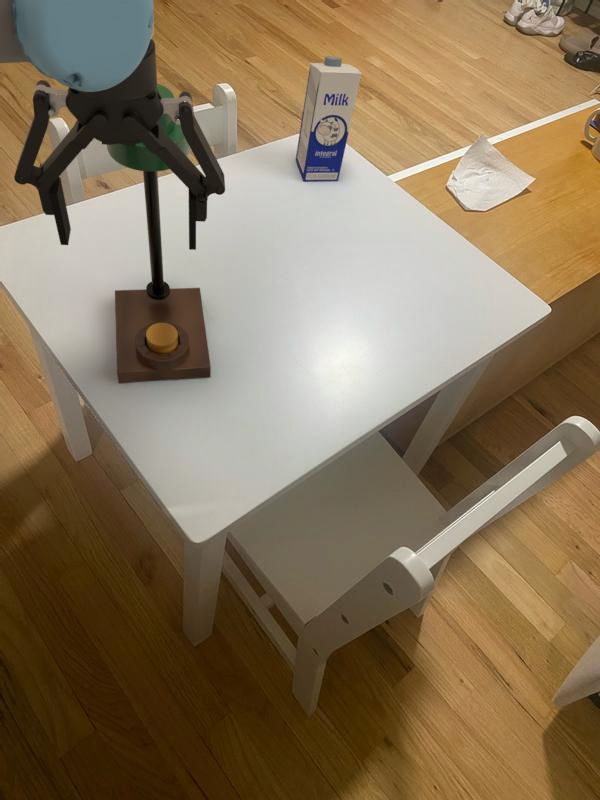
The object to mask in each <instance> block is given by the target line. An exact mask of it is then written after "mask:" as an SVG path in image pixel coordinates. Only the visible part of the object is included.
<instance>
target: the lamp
mask: <svg viewBox="0 0 600 800" xmlns="http://www.w3.org/2000/svg"><path fill="white" fill-rule="evenodd" d="M157 88H158V92H159V94H160V96H161V97H162V98H175V95H174V93H173V92H172V91H171V90H170V89H169V88H168V87H166V86H164V85H162V84H159V83H157ZM159 123H160V125H161V126H162V127H163V129H164V131H165V133H166V134H167V135H168V136H169V137H170V139H171V140H172V141H173V142H174V143H175V144H176V145H177V146H178V147H179V148H180V150H181V151H182V152H183V153H184V154H185V155H186V156H187V157H188V156H189V153H190V146H189V144H188V143H187V141H186V139H185V137H184V135H183V132H182V129H181V125H176V124H175V123H174V122H173V121H172V119H171V117H170V116H169V115H167V114H163V116H162V118H161V119H160V120H159ZM106 149H107V152H108V155H109V156H110V157H111V159H113V160H114V161H115V162H116V163H118V164H119V165H121V166H123V167H125V168H128V169H131V170H133V171H140V172H142V175H143V187H144V199H145V214H146V225H147V226H146V227H147V238H148V239H147V240H148V241H147V242H148V253H149V263H150V264H149V265H150V266H149V267H150V277H151V281H150V282H148V283H147V285H146V286H145V287H146V291H147V295H148V296H149V297H150V298H152V299H154V300H163V299H165V298H167V297H168V296H169V294H170V289H171V287H170V285H169V284H168V282H166V281H164V280H165V279H164V262H163V244H162V228H161V227H162V225H161V208H160V195H159V194H160V193H159V192H160V191H159V177H158V176H159V174H158V172H163V171H168V170H170V169H169V167H168V166H167V165H166V164H165V163H164V162H163V161H162V160H161V159H160V158H159V157H158V156H157V155H156V154H153V153H151V152H150V151H149V150H148V149H147V148H146V147H145V146H144V145H143V143H142V142H141V143H138V144H136V147H135V146H126V145H123V144H119V143H118V144H112V145H106Z"/></svg>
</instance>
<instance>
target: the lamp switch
mask: <svg viewBox="0 0 600 800" xmlns="http://www.w3.org/2000/svg"><path fill="white" fill-rule="evenodd" d="M146 339H147V346H148V348H149V349H150V350H151V351H152V352H154V353H156V354H168V353H171V352H173V351H174V350H175V349H176V348H177V345H178V333H177V330H176V329H175V327H173V326H172V325H170V324H167V323H157V324H154V325H152V326H150V327H149V328H148V330H147V332H146Z"/></svg>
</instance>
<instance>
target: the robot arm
mask: <svg viewBox="0 0 600 800" xmlns="http://www.w3.org/2000/svg"><path fill="white" fill-rule="evenodd" d="M154 7H155V6H154V0H0V64H14V63H15V64H16V63H29V64H31V65H32V66H33V67H35V69H36V70H37V71H38V72H39V73H40V74H41V75H42V76H45V77H47V78H49V79H53V80H54V81H56V82H58V83H59V84H60V85H62V86H65V87H67V88H68V89H67V90H65V89H60V88H54V87H52V86H51V84H50V83H49V82H48V81H47V80H44V79H40V80H38V81H37V82H36V85H35V89H34V92H33V96H32V105H33V118H32V120H31V123H30V127H29V129H28V133H27V135H26V137H25V141H24V144H23V147H22V150H21V152H20V156H19V159H18V161H17V166H16V169H15V171H14V176H13V179H14V181H15V182H16V183H17V184H18V185H22V186H23V185H26V184H29V185H31V186H33V187H35V189H37V193H38V195H39V200H40V205H41V208H42V212H43V213H44V215H46V216H53V217H54V221H55V226H56V229H57V234H58V238H59V243H60V246H69V242H70V236H71V231H72V228H71V223H70V218H69V213H68V209H67V204H66V198H65V192H64V188H63V183H62V178H61V177H60V176H61V175H62V174H63V172H65V170H67V168H68V167H69V166H70V165H71V164H72V163H73V161H74V160H75V159H76V158H77V156H78V155H79V154H80V153H81V152H82V150H85V149H86V148H87V147H88V146H89V145H90V143H92V142H93V140H94V139H95V140H97V141H98V142H101V145H106V146H107V145H112V144H118V143H119V144H123V145H126V146H135V147H136V144H138V143H141V142H142V143H143V145H144V146H145V147H146V148H147V149H148V150H149V151H150V152H151V153H153V154H156V155H157V156H158V157H159V158H160V159H161V160H162V161H163V162H164V163H165V164H166V165H167V166H168V167H169V169H168V170H170V171H171V172H172V173H173V174H174V175H175V176H176V177H177V178H178V180H180V181H181V183H183V185H185V187H186V188H187V189H188V250H189V251H190V250H191V251H193V250H194V251H196V250H197V222H203V223H205V222H206V220H207V219H208V199H209V196H210V195H213V194H215V195H218V196H220V195H223V194H225V192H226V182H225V181H226V180H225V179H226V178H225V173H224V171H223V169H222V167H221V165H220V164H219V161H218V159H217V158H216V156H215V155H216V154H214V151H213V150H212V148H211V145H210V143H209V142H208V140H207V138H206V136H205V134H204V132H203V130H202V128H201V126H200V124H199V122H198V120H197V118H196V115H195V110H194V104H193V103H194V102H193V96H192V94H191V93H190V92H188V91H182V92H180V93H179V96H178V97H174V98H162V97H161V96H160V94H159V92H158V88H157V84H158V76H157V75H158V73H157V59H156V58H157V54H156V43H155V41H154V39H153V37H154V36H155V16H154V12H155V8H154ZM64 107H65V108H67V110H68V112H69V113H70V114H71V115H72V116H73V117H74V118H75V120H76V121H75V122H74V125H73V127H72V128H71V129H70V130H69V132H68V133H67V134H66V135H65V136H64V137H63V139H62V140H61V141H60V142H59V144H58V145H57V146H56V147H55V148H54V149H53V151H52V152H51V153H50V154H49V156H48V157H47V158H46V159H45V160H44V162H43V163H40V164H39V165H38V166H36V165H35V163H36V160H37V158H38V154H39V151H40V149H41V147H42V145H43V140H44V139H45V135H46V132H47V130H48V126H49V123H50V118H51V117H55V116H57V115H58V114H59V113H60V110H61V108H64ZM163 114H167V115H169V116H170V117H171V119H172V121H173V122H174V123H175V124H176V125H181V129H182V132H183V135H184V137H185V139H186V141H187V143H188V144H189V149H190V151H191V152H192V154H193V155H194V158H195V159H196V161H197V163H198V165H199V167H200V168H201V170H202V171H200V169H199V168H198V167H197V166H196V165H195V164H194V162H193V161H192V160H190V158H189V157H188V156H186V155H185V154H184V153H183V152H182V151H181V150H180V148H179V147H178V146H177V145H176V144H175V143H174V142H173V141H172V140H171V139H170V137H169V136H168V135H167V134H166V133H165V131H164V129H163V127H162V126H161V125H160V123H159V120H160V119H161V118H162V116H163Z"/></svg>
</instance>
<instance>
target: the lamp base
mask: <svg viewBox="0 0 600 800" xmlns="http://www.w3.org/2000/svg"><path fill="white" fill-rule="evenodd" d="M114 303H115V304H114V307H115V308H114V310H115V311H114V312H115V313H114V314H115V347H116V350H115V351H116V352H115V353H116V375H117V381H118V384H126V383H139V382H141V383H144V382H156V381H174V380H186V379H187V380H191V379H202V378H203V379H204V378H205V379H206V378H211V370H212V369H211V368H212V366H211V359H210V352H209V351H210V350H209V345H208V338H207V337H208V336H207V330H206V322H205V314H204V309H203V308H204V307H203V300H202V294H201V287H182V288H181V287H179V288H177V287H176V288H175V287H174V288H170V294H169V296H168V297H167V298H165V299H163V300H154V299H152V298H150V297H149V296H148V295H147V291H146V289H145V288H143V289H117V290H116V289H115V290H114ZM157 323H167V324H170V325H172V326H173V327H175V329H176V330H177V333H178V345H177V348H176V349H175V350H174V351H173V352H171V353H168V354H156V353H154V352H152V351H151V350H150V349H149V348H148V346H147V339H146V332H147V330H148V328H149V327H150V326H152V325H154V324H157Z"/></svg>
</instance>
